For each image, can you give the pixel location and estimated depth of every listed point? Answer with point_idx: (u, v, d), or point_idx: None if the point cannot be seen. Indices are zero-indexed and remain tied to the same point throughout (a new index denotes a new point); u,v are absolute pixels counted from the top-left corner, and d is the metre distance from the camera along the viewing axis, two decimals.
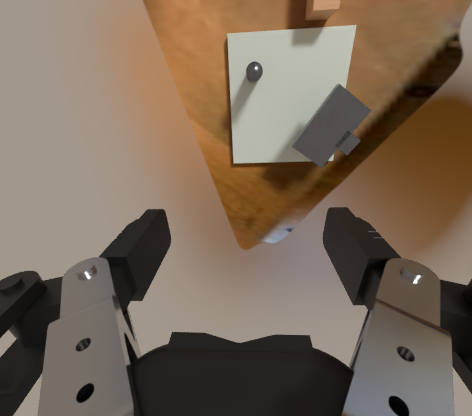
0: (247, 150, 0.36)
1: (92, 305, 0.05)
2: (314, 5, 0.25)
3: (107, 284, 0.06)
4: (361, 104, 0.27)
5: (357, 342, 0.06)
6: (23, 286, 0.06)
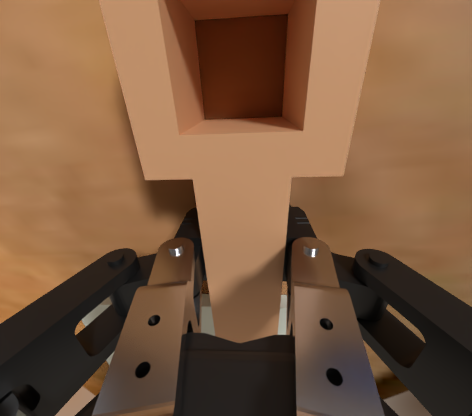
0: None
1: (170, 285, 0.05)
2: None
3: (187, 267, 0.06)
4: None
5: (286, 323, 0.07)
6: (126, 260, 0.07)
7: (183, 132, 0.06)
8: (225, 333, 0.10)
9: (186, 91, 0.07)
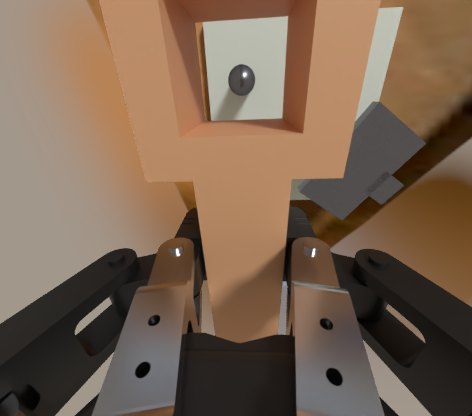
0: None
1: (170, 284, 0.05)
2: None
3: (187, 267, 0.06)
4: (411, 133, 0.17)
5: (286, 323, 0.07)
6: (126, 260, 0.07)
7: (184, 134, 0.06)
8: (225, 334, 0.10)
9: (186, 93, 0.07)
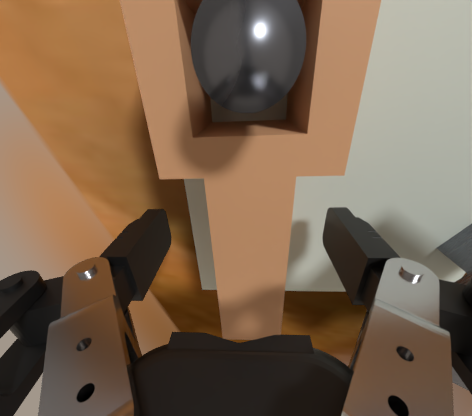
0: None
1: (92, 305, 0.05)
2: (224, 334, 0.11)
3: (107, 284, 0.06)
4: None
5: (357, 342, 0.06)
6: (24, 286, 0.06)
7: (195, 135, 0.07)
8: (231, 326, 0.11)
9: (198, 96, 0.07)
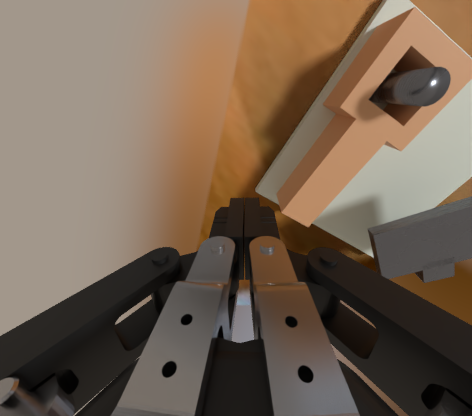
0: None
1: (206, 285, 0.05)
2: (285, 209, 0.19)
3: (226, 269, 0.06)
4: None
5: (253, 325, 0.07)
6: (171, 259, 0.07)
7: None
8: (293, 205, 0.19)
9: None
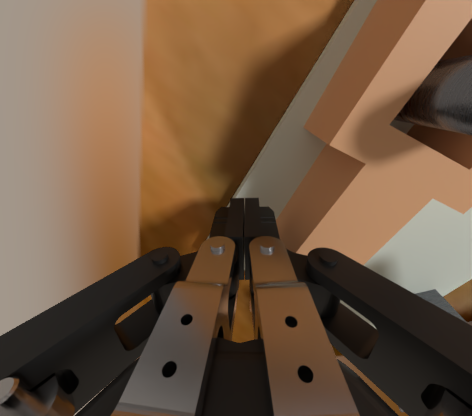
0: None
1: (206, 285, 0.05)
2: None
3: (226, 269, 0.06)
4: None
5: (253, 325, 0.07)
6: (171, 259, 0.07)
7: None
8: None
9: None
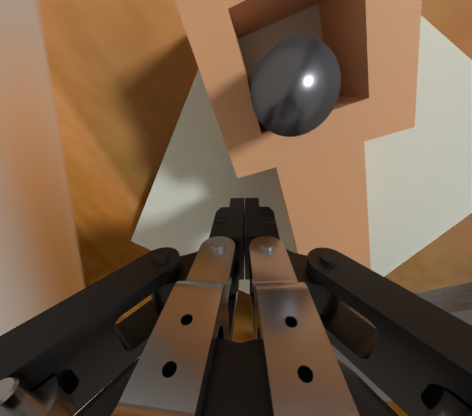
0: (171, 235, 0.15)
1: (206, 285, 0.05)
2: None
3: (226, 268, 0.06)
4: None
5: (253, 325, 0.07)
6: (171, 259, 0.07)
7: (261, 131, 0.08)
8: None
9: None
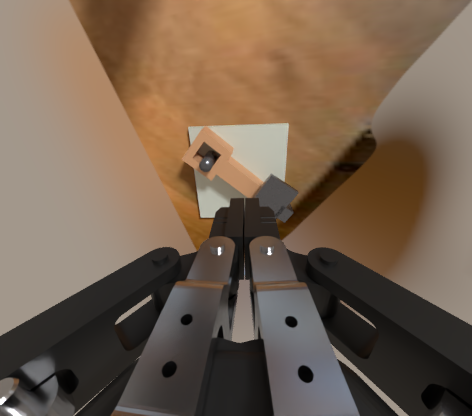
0: (210, 208, 0.44)
1: (206, 285, 0.05)
2: None
3: (226, 269, 0.06)
4: (290, 188, 0.34)
5: (253, 325, 0.07)
6: (171, 259, 0.07)
7: None
8: None
9: None
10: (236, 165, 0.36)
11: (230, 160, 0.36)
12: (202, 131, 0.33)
